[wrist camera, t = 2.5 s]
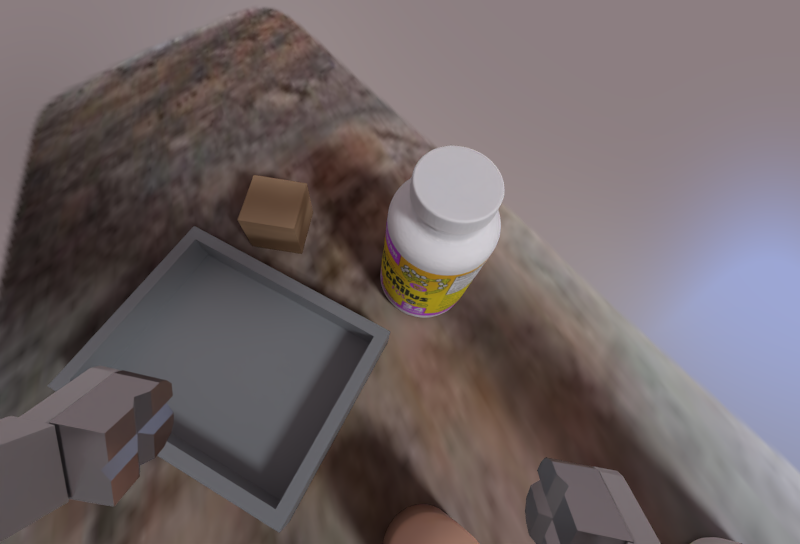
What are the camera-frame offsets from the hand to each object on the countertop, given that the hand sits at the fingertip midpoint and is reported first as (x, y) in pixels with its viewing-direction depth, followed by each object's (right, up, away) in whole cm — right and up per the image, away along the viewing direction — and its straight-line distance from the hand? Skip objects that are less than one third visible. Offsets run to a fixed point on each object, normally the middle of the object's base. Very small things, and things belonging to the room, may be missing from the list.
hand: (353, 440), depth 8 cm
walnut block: (-9, +7, +23) cm, 26 cm away
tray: (-10, -3, +18) cm, 21 cm away
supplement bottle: (+3, +3, +22) cm, 23 cm away
